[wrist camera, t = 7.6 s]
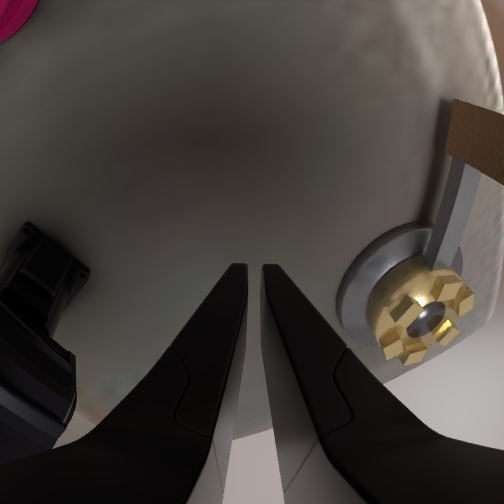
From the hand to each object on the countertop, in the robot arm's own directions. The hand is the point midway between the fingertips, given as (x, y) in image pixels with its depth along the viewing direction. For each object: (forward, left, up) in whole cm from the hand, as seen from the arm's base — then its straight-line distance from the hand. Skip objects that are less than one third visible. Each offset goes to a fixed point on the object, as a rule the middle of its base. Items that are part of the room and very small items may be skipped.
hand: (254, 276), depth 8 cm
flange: (+4, -19, -12) cm, 23 cm away
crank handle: (+8, -15, -11) cm, 20 cm away
